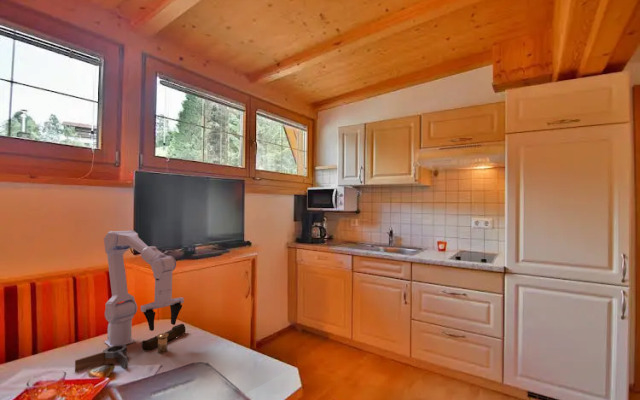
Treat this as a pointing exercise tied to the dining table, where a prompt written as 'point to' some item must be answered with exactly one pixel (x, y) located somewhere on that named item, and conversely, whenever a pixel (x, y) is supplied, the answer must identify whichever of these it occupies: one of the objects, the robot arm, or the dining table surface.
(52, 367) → the dining table surface
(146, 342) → the hand tool
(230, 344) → the dining table surface
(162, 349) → the bronze pin
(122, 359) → the grey ring with handle
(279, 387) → the dining table surface
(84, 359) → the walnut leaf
